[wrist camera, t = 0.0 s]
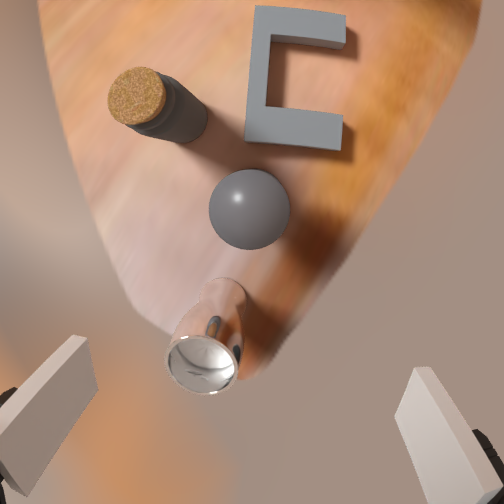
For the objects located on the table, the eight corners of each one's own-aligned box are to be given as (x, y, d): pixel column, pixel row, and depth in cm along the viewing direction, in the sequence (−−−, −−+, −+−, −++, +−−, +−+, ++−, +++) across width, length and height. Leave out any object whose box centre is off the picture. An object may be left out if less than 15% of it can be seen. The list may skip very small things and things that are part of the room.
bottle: (204, 91, 34) (165, 50, 20) (211, 137, 36) (175, 121, 21) (157, 102, 35) (97, 73, 20) (164, 148, 36) (105, 141, 22)
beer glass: (250, 325, 42) (240, 400, 27) (197, 322, 42) (166, 393, 28) (251, 275, 40) (240, 336, 25) (195, 272, 40) (157, 330, 26)
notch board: (256, 14, 31) (255, 5, 29) (341, 23, 31) (345, 15, 29) (245, 142, 36) (243, 140, 33) (336, 151, 35) (340, 150, 33)
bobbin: (226, 166, 37) (211, 167, 27) (287, 171, 36) (293, 173, 27) (222, 225, 38) (207, 246, 29) (281, 230, 38) (286, 253, 29)
